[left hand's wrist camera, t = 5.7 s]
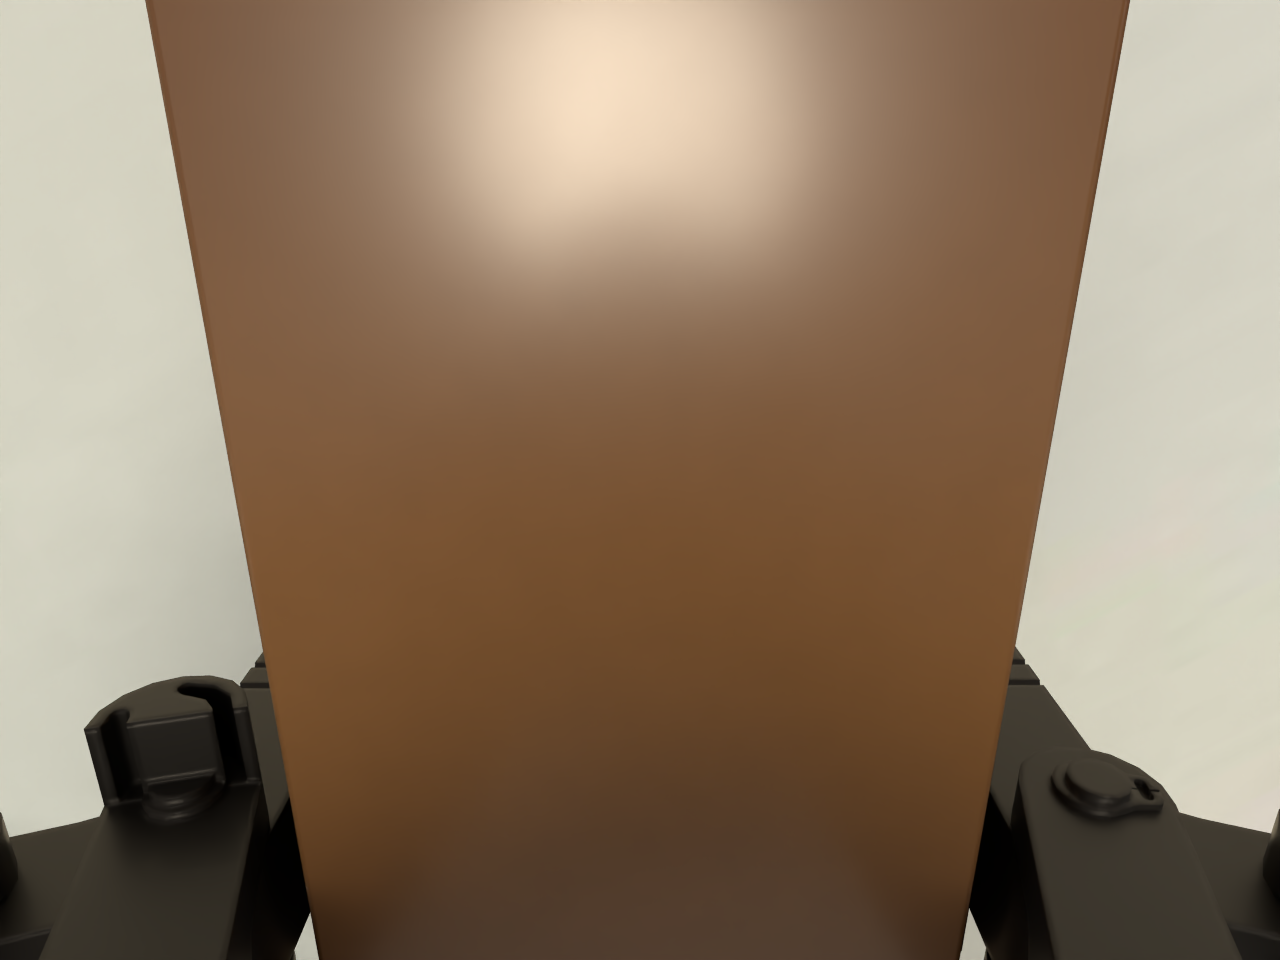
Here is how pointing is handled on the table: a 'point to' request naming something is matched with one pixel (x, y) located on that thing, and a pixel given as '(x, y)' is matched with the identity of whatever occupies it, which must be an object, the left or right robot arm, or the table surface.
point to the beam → (638, 446)
